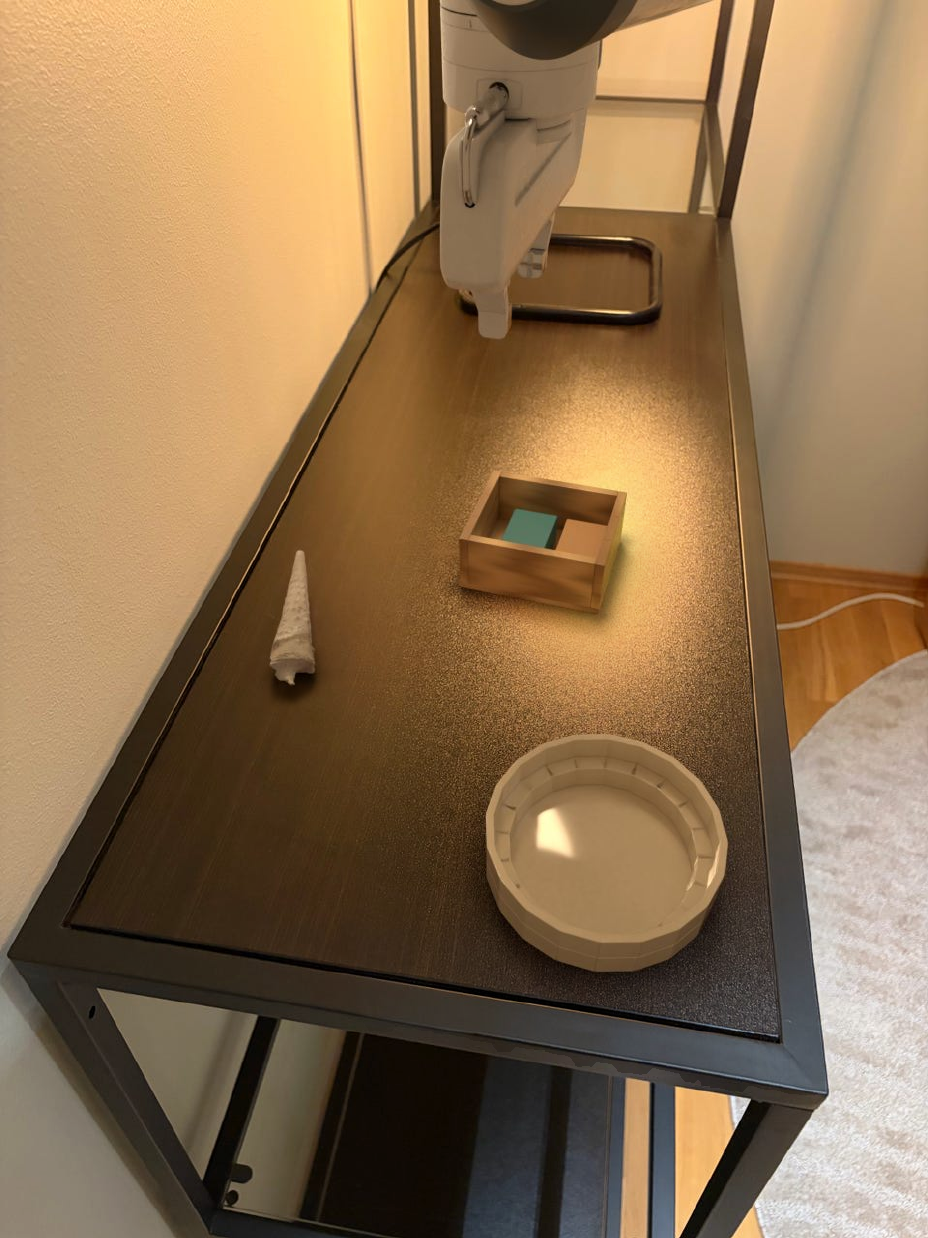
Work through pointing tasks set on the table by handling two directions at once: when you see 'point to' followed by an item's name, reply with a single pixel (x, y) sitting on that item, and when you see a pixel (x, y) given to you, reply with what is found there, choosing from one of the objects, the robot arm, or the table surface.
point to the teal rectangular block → (531, 529)
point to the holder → (535, 567)
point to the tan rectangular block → (581, 538)
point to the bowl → (604, 852)
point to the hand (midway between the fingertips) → (514, 302)
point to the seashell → (294, 628)
